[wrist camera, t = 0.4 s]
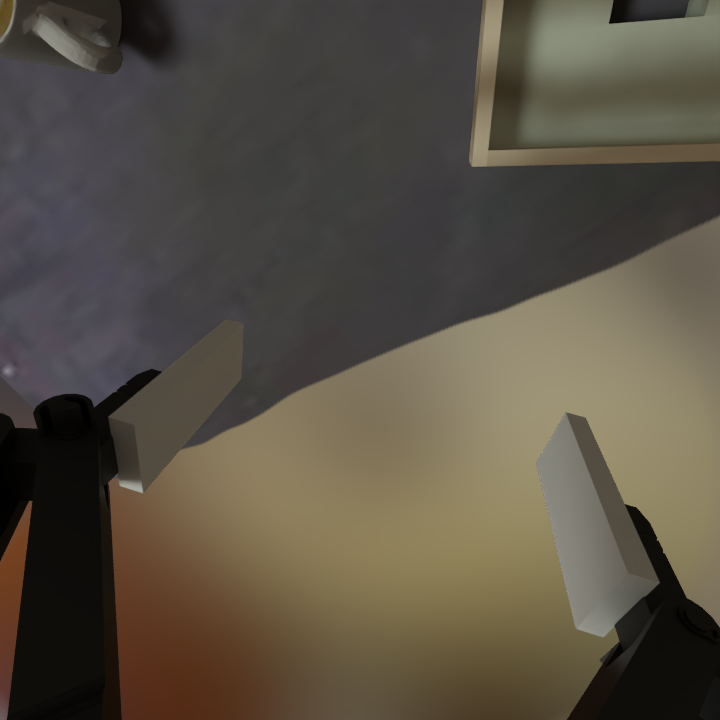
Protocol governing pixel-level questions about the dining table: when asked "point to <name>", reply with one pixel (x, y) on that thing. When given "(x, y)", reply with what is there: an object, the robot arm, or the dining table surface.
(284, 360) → the dining table surface
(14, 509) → the robot arm
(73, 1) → the coffee mug
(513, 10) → the box
